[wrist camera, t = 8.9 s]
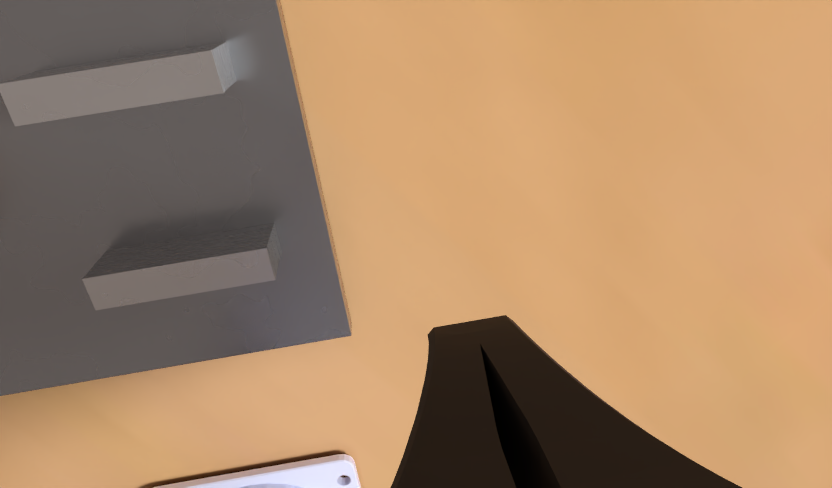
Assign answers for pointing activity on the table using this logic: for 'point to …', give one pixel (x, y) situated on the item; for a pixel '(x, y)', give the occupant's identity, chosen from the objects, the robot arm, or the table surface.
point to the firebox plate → (155, 190)
